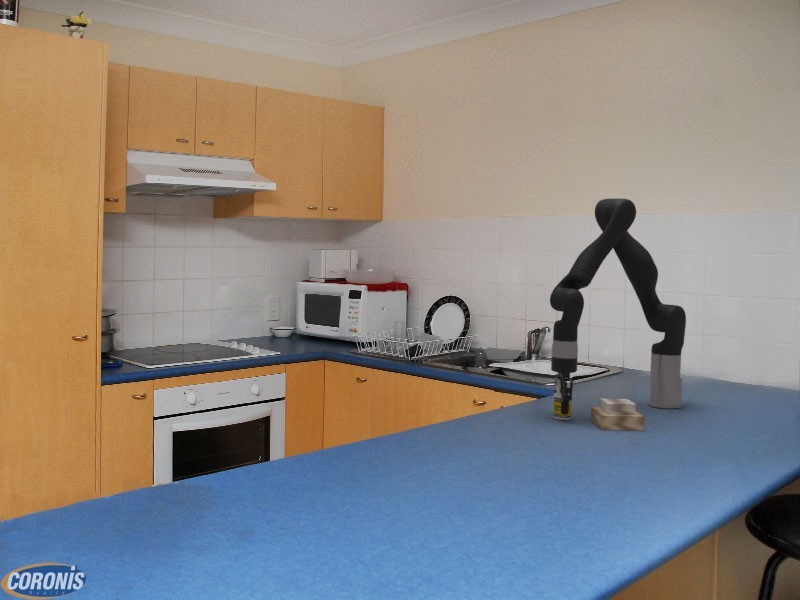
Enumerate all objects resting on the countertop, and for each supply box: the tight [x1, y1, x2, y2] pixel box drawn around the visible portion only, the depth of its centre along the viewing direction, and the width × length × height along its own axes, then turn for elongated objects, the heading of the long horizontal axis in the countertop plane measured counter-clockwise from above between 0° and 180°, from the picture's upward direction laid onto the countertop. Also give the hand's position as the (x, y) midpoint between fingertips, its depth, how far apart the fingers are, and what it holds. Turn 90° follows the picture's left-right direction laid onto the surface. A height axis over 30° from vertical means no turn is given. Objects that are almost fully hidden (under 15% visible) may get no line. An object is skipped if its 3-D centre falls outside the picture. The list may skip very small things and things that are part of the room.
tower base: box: [590, 397, 646, 432], centre depth 224 cm, size 12×12×7 cm
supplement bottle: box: [552, 385, 573, 421], centre depth 232 cm, size 5×5×10 cm
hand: (562, 411), depth 232 cm, fingers closed on supplement bottle, 5 cm apart
